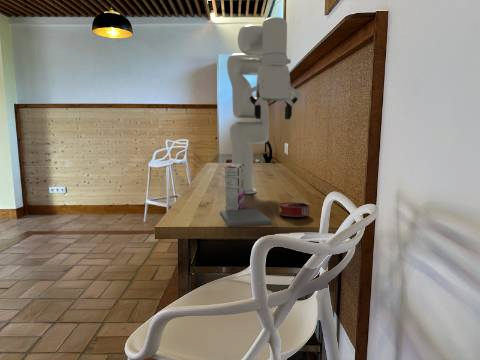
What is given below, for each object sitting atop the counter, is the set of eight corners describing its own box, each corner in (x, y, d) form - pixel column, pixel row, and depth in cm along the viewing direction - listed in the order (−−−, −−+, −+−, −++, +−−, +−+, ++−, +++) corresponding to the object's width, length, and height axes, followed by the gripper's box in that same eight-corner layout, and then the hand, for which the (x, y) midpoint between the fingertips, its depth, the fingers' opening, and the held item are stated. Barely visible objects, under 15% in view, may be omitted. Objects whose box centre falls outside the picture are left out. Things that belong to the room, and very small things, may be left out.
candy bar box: (231, 207, 124) (232, 163, 122) (245, 207, 123) (245, 163, 121) (224, 213, 113) (224, 166, 111) (239, 214, 112) (239, 166, 110)
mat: (220, 213, 112) (220, 210, 112) (257, 211, 114) (257, 208, 114) (228, 226, 96) (228, 222, 96) (271, 223, 99) (271, 220, 99)
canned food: (286, 224, 114) (290, 197, 117) (313, 225, 108) (317, 196, 111) (269, 213, 106) (274, 184, 109) (297, 213, 100) (302, 182, 103)
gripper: (295, 66, 107) (294, 119, 109) (243, 63, 103) (243, 119, 105) (305, 61, 99) (303, 118, 102) (249, 58, 96) (249, 118, 98)
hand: (273, 119), depth 104 cm, fingers open, 9 cm apart
